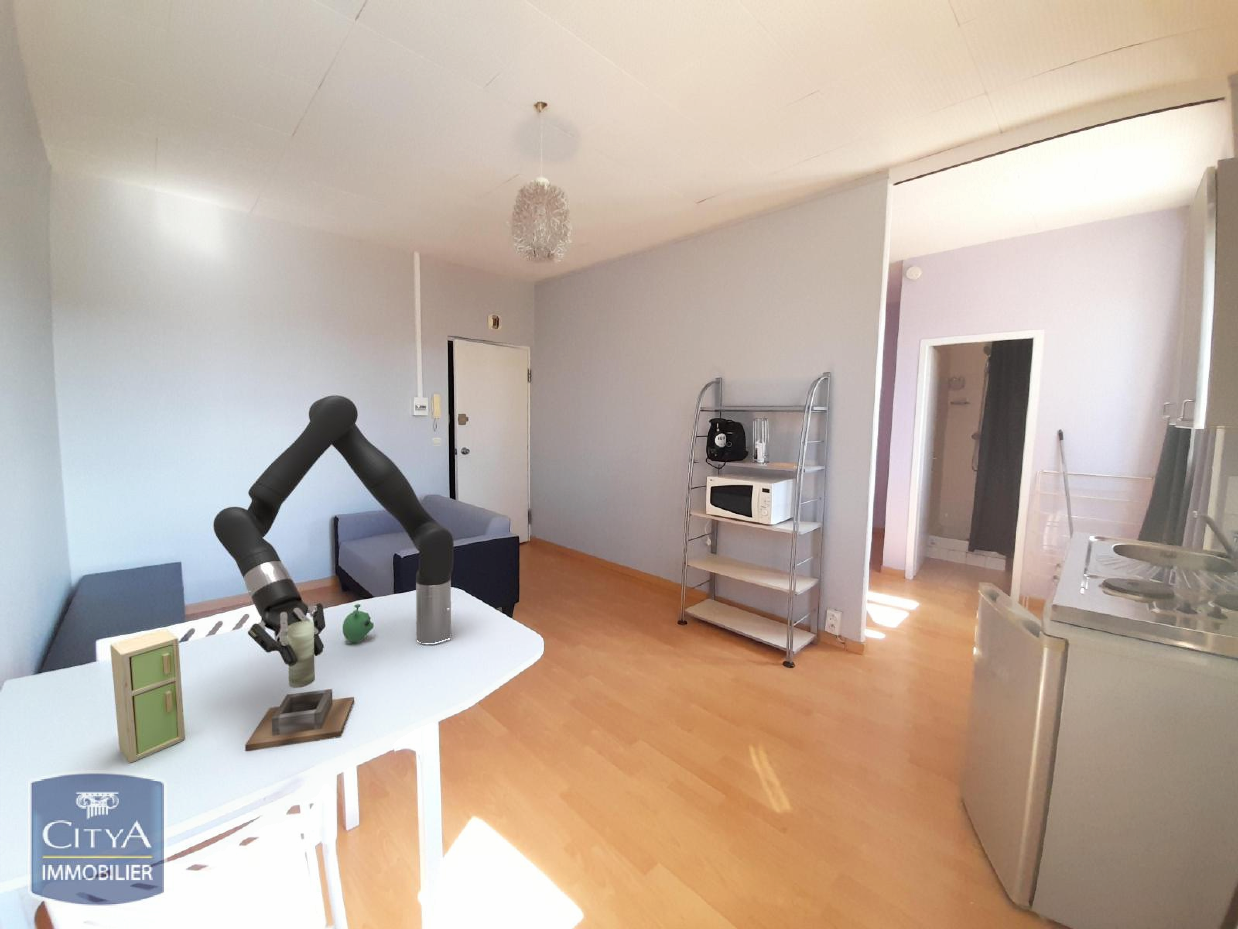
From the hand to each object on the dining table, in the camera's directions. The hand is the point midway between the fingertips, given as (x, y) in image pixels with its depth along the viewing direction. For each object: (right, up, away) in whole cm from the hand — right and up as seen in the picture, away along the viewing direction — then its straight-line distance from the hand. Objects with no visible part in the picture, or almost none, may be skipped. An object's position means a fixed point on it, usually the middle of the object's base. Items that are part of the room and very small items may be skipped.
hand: (307, 658), depth 96 cm
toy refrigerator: (-26, -15, -5) cm, 30 cm away
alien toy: (-11, -11, +38) cm, 41 cm away
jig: (-2, -15, +2) cm, 15 cm away
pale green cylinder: (-2, -5, +1) cm, 6 cm away
